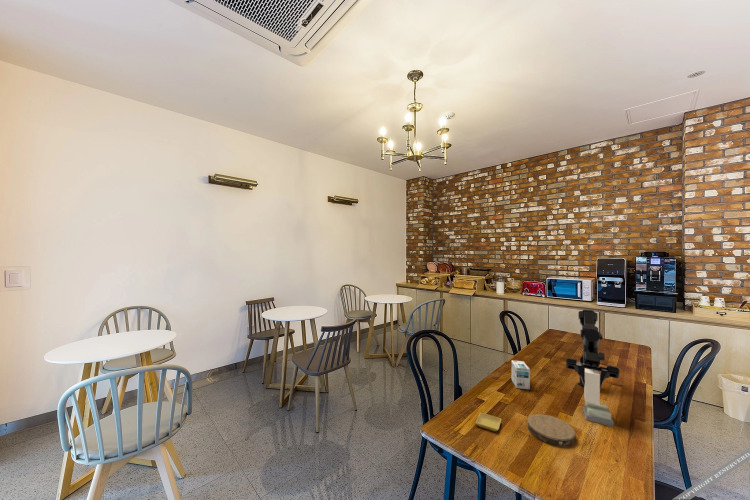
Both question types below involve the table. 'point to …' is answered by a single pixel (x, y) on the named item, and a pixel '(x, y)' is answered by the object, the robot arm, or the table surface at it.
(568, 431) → the wood slice
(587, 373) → the cream pillar
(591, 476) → the table surface
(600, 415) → the tower top slab
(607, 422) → the tower base slab
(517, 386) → the light bulb box
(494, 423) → the yellow flat square tray
